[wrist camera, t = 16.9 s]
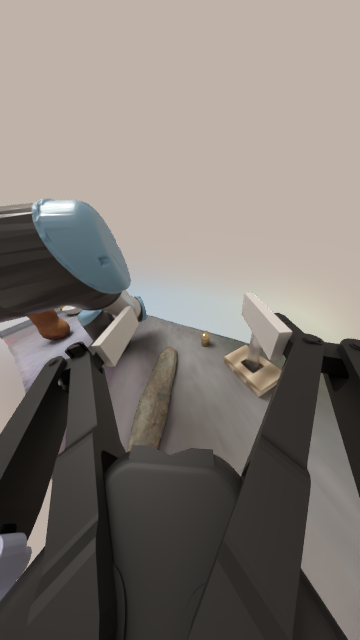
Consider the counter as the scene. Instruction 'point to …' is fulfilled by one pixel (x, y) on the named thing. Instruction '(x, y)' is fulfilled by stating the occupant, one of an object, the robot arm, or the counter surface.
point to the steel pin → (254, 354)
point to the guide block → (255, 381)
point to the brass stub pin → (205, 338)
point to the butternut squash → (50, 325)
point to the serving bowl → (71, 310)
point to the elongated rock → (154, 402)
